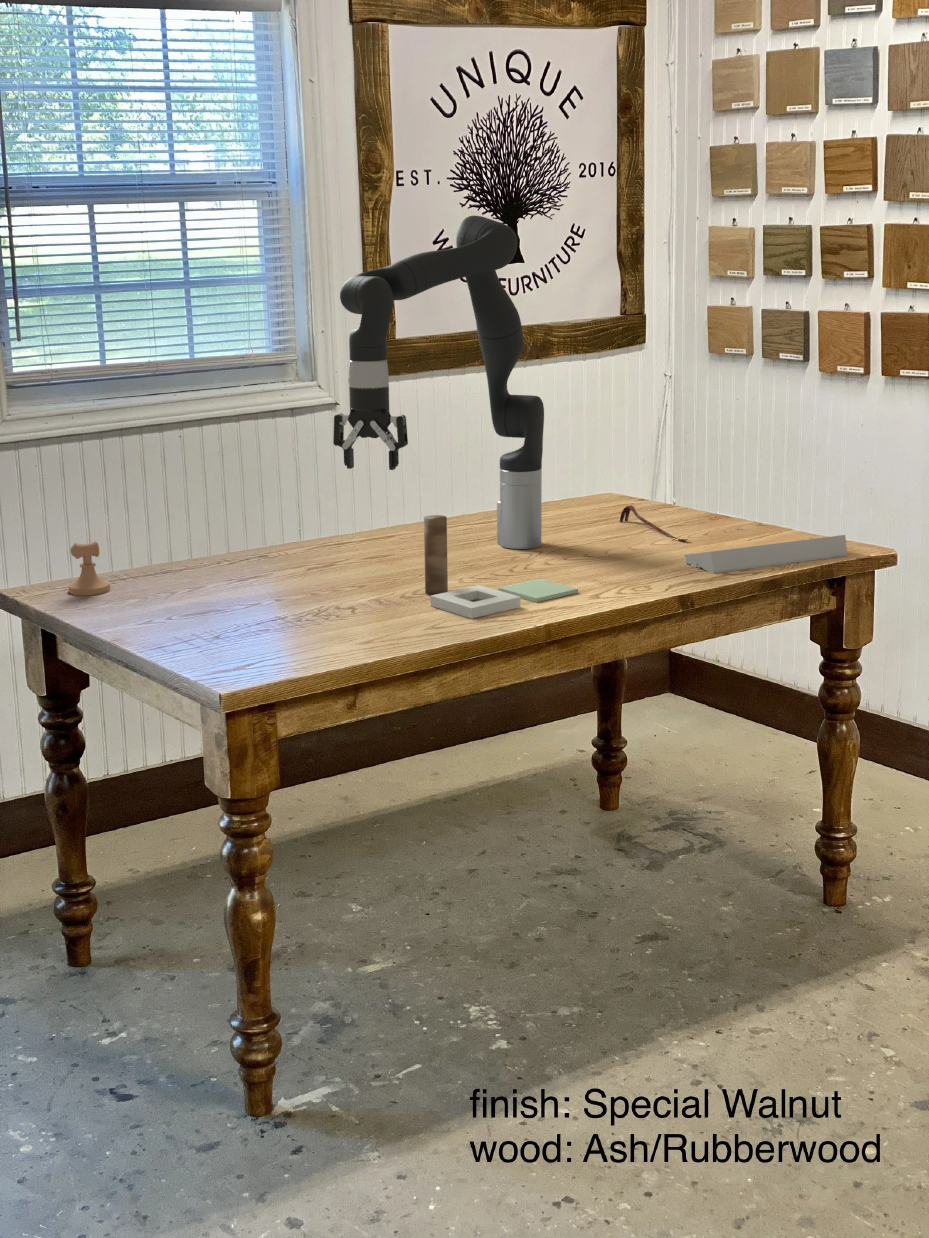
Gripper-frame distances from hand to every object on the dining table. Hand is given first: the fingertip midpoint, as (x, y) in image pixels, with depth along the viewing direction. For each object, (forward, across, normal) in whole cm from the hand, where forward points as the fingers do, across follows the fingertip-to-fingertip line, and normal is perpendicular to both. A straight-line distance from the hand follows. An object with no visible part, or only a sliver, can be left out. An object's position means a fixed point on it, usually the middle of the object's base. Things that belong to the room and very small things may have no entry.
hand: (371, 468), depth 280 cm
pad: (+24, -32, -6) cm, 40 cm away
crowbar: (+25, -46, -65) cm, 84 cm away
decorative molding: (+25, -73, -43) cm, 88 cm away
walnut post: (+24, -12, -1) cm, 27 cm away
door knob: (+24, +56, +12) cm, 62 cm away
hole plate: (+24, -22, +7) cm, 34 cm away
